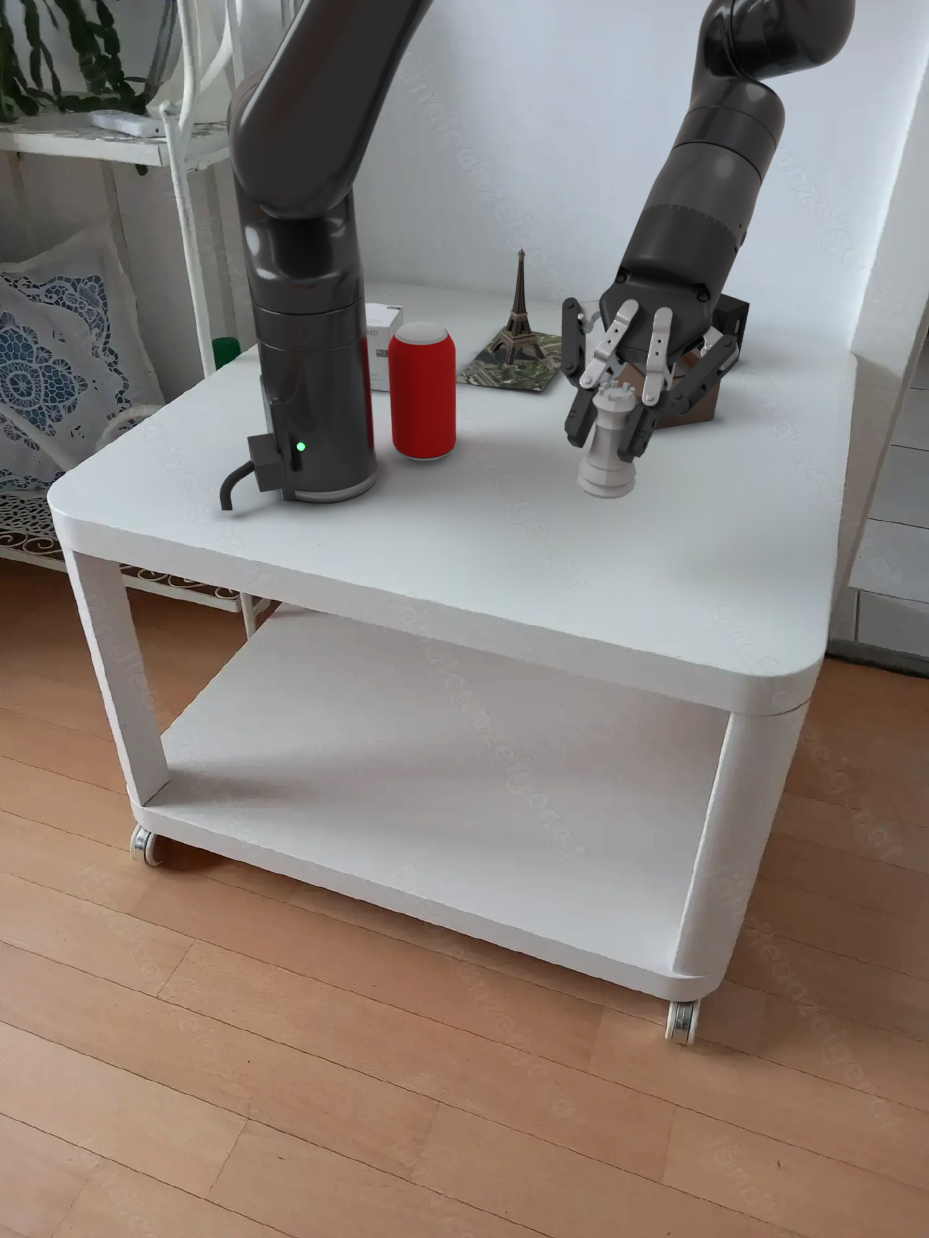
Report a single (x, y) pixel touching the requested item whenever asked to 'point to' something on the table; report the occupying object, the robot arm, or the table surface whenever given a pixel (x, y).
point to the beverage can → (422, 391)
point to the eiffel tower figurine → (516, 351)
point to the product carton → (381, 340)
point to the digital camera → (730, 318)
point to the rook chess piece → (609, 445)
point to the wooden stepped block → (701, 412)
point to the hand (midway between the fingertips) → (599, 450)
